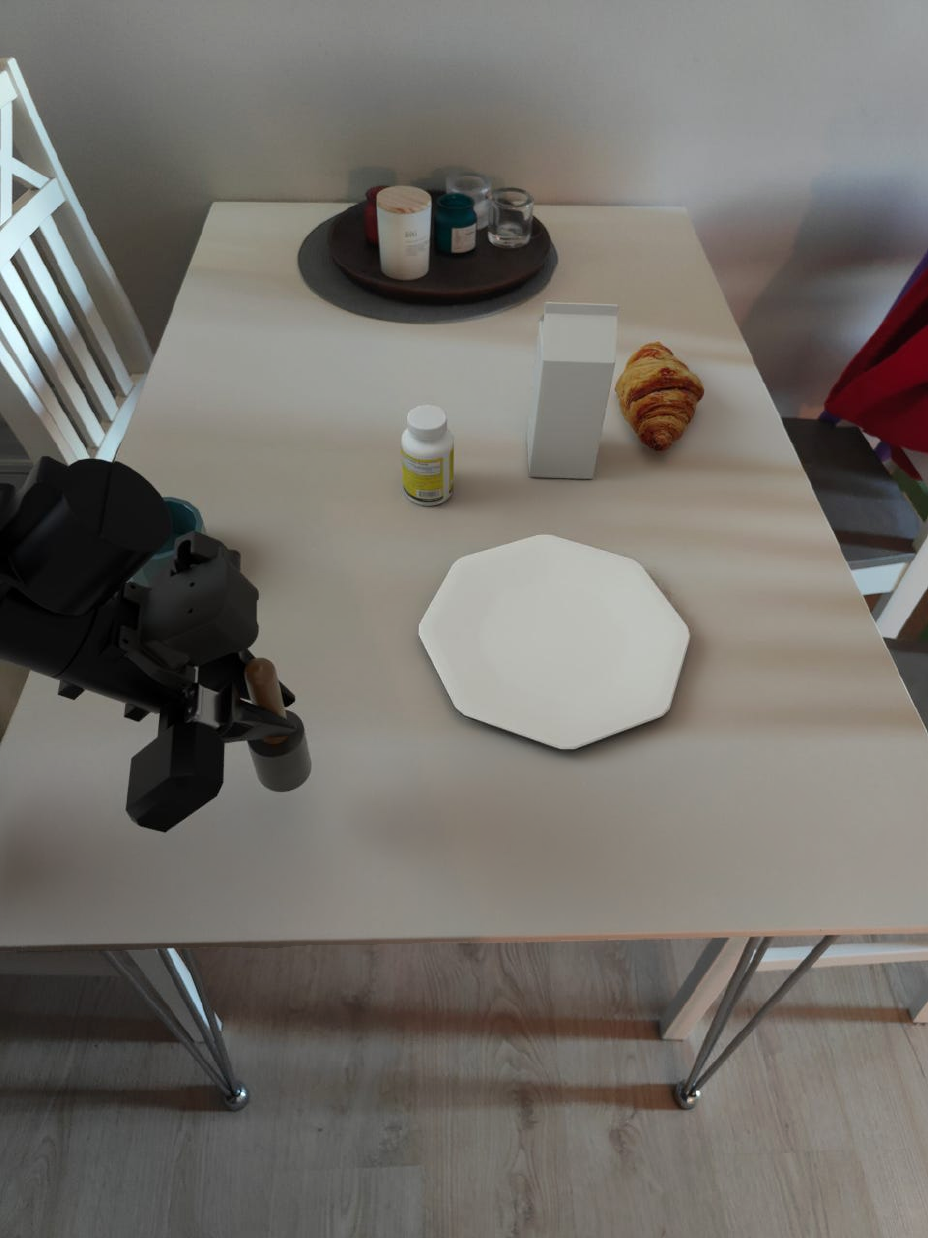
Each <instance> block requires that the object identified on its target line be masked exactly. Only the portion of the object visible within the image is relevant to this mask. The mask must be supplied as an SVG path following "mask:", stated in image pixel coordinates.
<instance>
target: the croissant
mask: <svg viewBox="0 0 928 1238" xmlns="http://www.w3.org/2000/svg"><path fill="white" fill-rule="evenodd" d="M614 392H615V393H616V397H617V398H618V401H619V409H620V411H621V413H622V416H623V417H624V419H625V420H626V421H627V423H628V424H629V426H630V427H631V428H632V429H633V431H634V433H635V434H636V435H637V438H638V439H639V441H640V442H641V444H643V445H644V446H645V447H648V448H649V449H652V450H653V451H655V452H665V451H668V450H669V449H670V448H671V446H672V444H674V443H675V442H677V441H678V440H680V439H681V438H682V436H683V435H684V433H685V430H686V428H687V427H688V426H689V424H691V422H692V420H693V419H694V417H695V414H696V412H697V406H698V403H699V402H700V401H701V400H702V399H703V398H704V395H705V387H704V384H703V383H702V381H701V379H700V378H699V376H698V375H696V374H695V373H693V371H691V370H690V368H689V367H688V365H686V364H685V363H684V362H683V361H682V360H680V359H678V357H676V356H675V354H674V353H673V351H671V350H670V348H668V347H667V346H665V345H663V344H662V343H661V342H660V341H659V340H657V341H655V342H648V343H646V344H644V345H642V346H641V347H640V348H639V349H638V350H637V351H636V352H634V353H633V354H631V356H630V357H629V358H628V360H627V362H626V364H625V367H624V370H623V372H622V373H621V375H619V377H618V379H617V381H616V382H615V386H614Z"/></svg>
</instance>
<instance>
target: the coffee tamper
mask: <svg viewBox="0 0 928 1238" xmlns="http://www.w3.org/2000/svg"><path fill="white" fill-rule="evenodd" d="M244 678H245V681H246V685H247V689H248V692H249V696H250V699H251V701H250V703H251V704H254V705H256V706H259V707H261V708H263V709H266V710H268V711H271V712H273V713H276V714H278V715H280V716H283V717H284V718H286V719H288V720H290V721H291V722H293V723H295V724H296V730H295V731H294V732H293V733H291V734H290V735H288V736H283V737H274V738H265V739H257V740H248V741H246V743H247V746H248V751H249V753H250V756H251V759H252V760H251V761H252V763H253V767H254V769H255V773H256V775H257V776H256V777H257V779H258V781H259V782H260V784H261V785H262V786H263V787H264V788H266V789H267V790H269V791H270V792H271V791H272V792H275V793H287V792H291V791H292V792H293V791H294V790H296V789H298V788H300V787H301V786H302V785H303V784H304V783H306V781H307V780H308V778H309V777H310V775H311V772H312V758H311V755H310V748H309V745H308V739H307V735H306V730H305V725H304V722H303V721H302V719H301V718H300V716H299V715H297V714H296V713H295V712H293V711H291V710H289V709H286V707H284V703H283V698H282V694H281V690H280V685H279V681H280V680H279V677H278V673H277V669H276V666H275V664H274V663H273V662H272V661H271V660H269V659H268V658H266V657H256V658H255V659H253V660H251V661H250V662H249V663H248V664H247V665H246V667H245V670H244ZM278 680H279V681H278Z"/></svg>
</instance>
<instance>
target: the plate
mask: <svg viewBox="0 0 928 1238" xmlns="http://www.w3.org/2000/svg"><path fill="white" fill-rule="evenodd" d="M418 637H419V639H420V641H421V643H422V645H423V647H424V650H425V651H426V653H427V655H428V657H429V659H430V661H431V663H432V665H433V667H434V670H435V671H436V673H437V675H438V677H439V678H440V681H441V683H442V685H443V687H444V690H445V691H446V692H447V696H448V697H449V699H450V701H451V703H452V705H453V707H454V709H455V710H456V711H457V712H458V713H460V714H461V715H462V716H463V717H465V718H468V719H471V720H473V721H476V722H478V723H479V722H480V723H482V724H485V725H488V726H490V727H493V728H496V729H499V730H502V731H505V732H507V733H511V734H513V735H516V736H519V737H522V738H524V739H527V740H530V741H534V742H536V743H539V744H540V745H545V746H547V747H550V748H553V749H556V750H559V751H575V750H578V749H581V748H584V747H586V746H589V745H592V744H594V743H597V742H599V741H600V742H601V741H602V740H605V739H608V738H610V737H613V736H615V735H618V734H621V733H624V732H627V731H629V730H632V729H635V728H638V727H639V726H642V725H645V724H648V723H650V722H653V721H656V720H659V719H661V718H663V717H664V716H665V714H666V713H667V712H669V710H670V709H671V705H672V702H673V699H674V695H675V692H676V689H677V685H678V682H679V679H680V675H681V671H682V667H683V664H684V661H685V657H686V654H687V650H688V646H689V643H690V641H691V633H690V629H689V626H688V625H687V623H685V621H684V619H683V618H682V616H680V614H679V613H678V612H677V611H676V609H675V608H674V606H673V605H672V604H671V602H670V601H669V600H668V599H667V597H666V596H665V594H664V593H663V592H662V590H660V588H659V587H658V585H657V583H655V581H654V580H653V578H652V577H651V576H650V574H648V572H647V571H646V570H645V568H644V567H643V565H642V564H641V563H639V562H637V561H636V560H634V559H632V558H630V557H627V556H623V555H620V554H618V553H613V552H609V551H606V550H603V549H600V548H598V547H593V546H590V545H586V544H583V543H579V542H576V541H573V540H569V539H566V538H563V537H559V536H557V535H553V534H536V535H533V536H528V537H525V538H523V539H519V540H515V541H513V542H509V543H506V544H502V545H499V546H496V547H491V548H489V549H485V550H481V551H478V552H474V553H471V554H467V555H464V556H461V557H460V558H459V559H457V560H455V561H454V562H453V563H452V566H451V567H450V569H449V571H448V573H447V574H446V576H445V578H444V579H443V581H442V583H441V585H440V587H439V588H438V590H437V592H436V594H435V596H434V597H433V599H432V601H431V603H430V605H429V606H428V608H427V610H426V612H425V613H424V615H423V617H422V619H421V620H420V622H419V624H418Z"/></svg>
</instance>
